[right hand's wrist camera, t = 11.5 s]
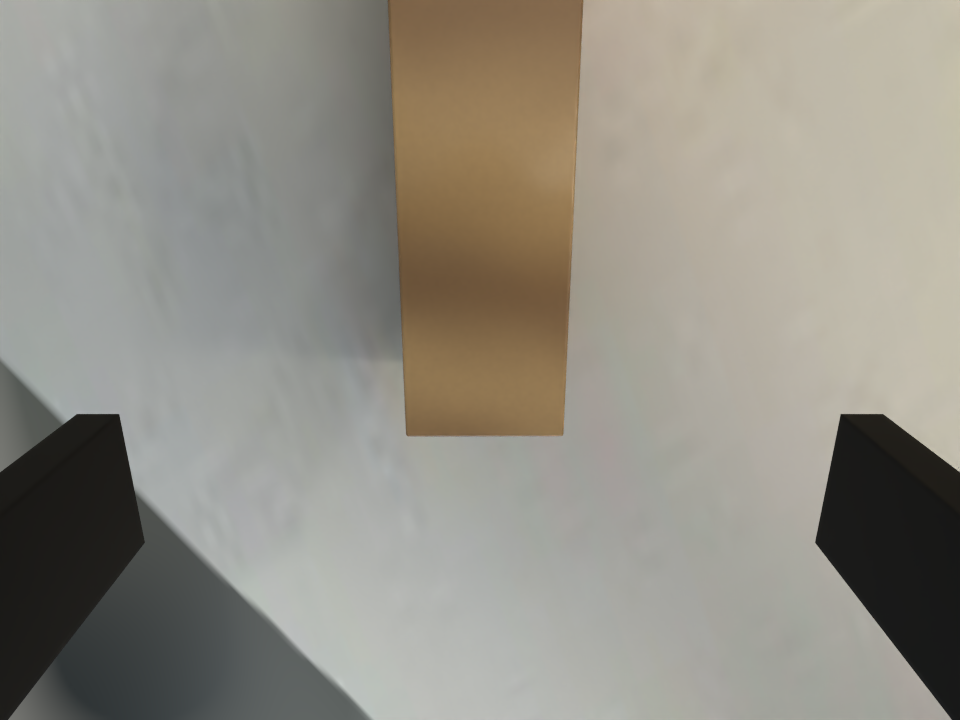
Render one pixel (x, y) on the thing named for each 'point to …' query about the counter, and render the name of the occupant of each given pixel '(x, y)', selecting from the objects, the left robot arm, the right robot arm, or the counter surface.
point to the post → (485, 210)
